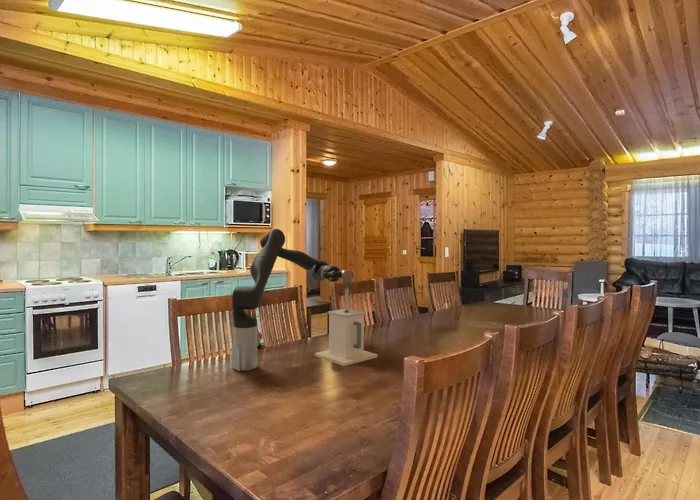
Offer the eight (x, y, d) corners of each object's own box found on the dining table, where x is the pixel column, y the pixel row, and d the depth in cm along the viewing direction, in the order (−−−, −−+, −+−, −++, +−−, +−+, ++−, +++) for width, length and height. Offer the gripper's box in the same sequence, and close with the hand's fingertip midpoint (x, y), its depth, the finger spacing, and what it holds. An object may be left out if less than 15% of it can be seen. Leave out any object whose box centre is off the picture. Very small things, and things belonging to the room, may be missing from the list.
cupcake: (252, 349, 210) (252, 323, 209) (240, 346, 215) (240, 321, 214) (266, 345, 216) (266, 321, 216) (254, 342, 221) (254, 318, 221)
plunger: (345, 326, 192) (346, 271, 191) (332, 323, 198) (332, 270, 197) (360, 323, 198) (360, 270, 197) (347, 320, 204) (347, 269, 203)
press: (344, 366, 184) (344, 318, 184) (314, 355, 199) (315, 311, 198) (377, 357, 198) (378, 312, 197) (347, 348, 213) (348, 306, 212)
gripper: (317, 266, 213) (328, 268, 198) (344, 265, 219) (357, 268, 204) (316, 281, 214) (328, 285, 199) (344, 280, 219) (357, 284, 204)
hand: (343, 276), depth 201 cm, fingers open, 8 cm apart
